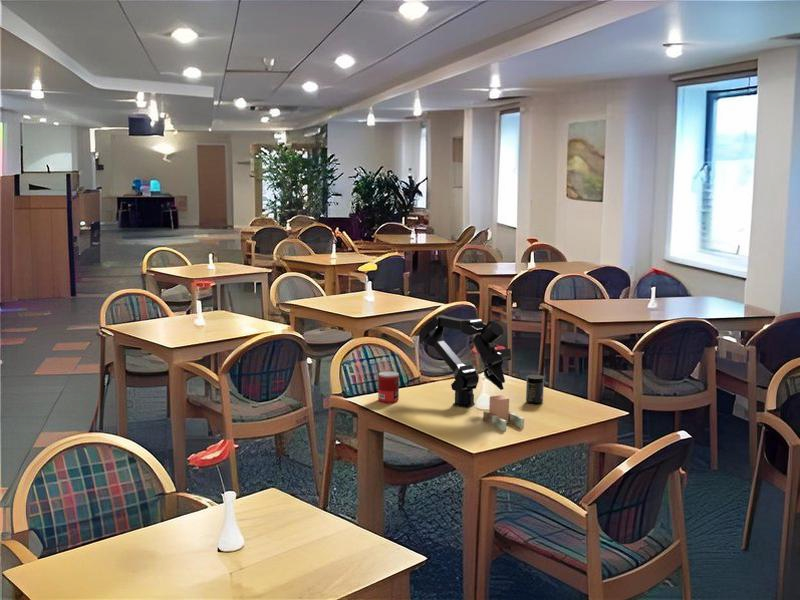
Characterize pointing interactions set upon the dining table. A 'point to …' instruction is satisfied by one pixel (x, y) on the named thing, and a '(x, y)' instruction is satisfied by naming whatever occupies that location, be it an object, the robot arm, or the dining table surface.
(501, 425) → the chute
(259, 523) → the dining table surface
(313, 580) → the dining table surface
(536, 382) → the supplement container
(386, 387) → the canned food
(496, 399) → the block
